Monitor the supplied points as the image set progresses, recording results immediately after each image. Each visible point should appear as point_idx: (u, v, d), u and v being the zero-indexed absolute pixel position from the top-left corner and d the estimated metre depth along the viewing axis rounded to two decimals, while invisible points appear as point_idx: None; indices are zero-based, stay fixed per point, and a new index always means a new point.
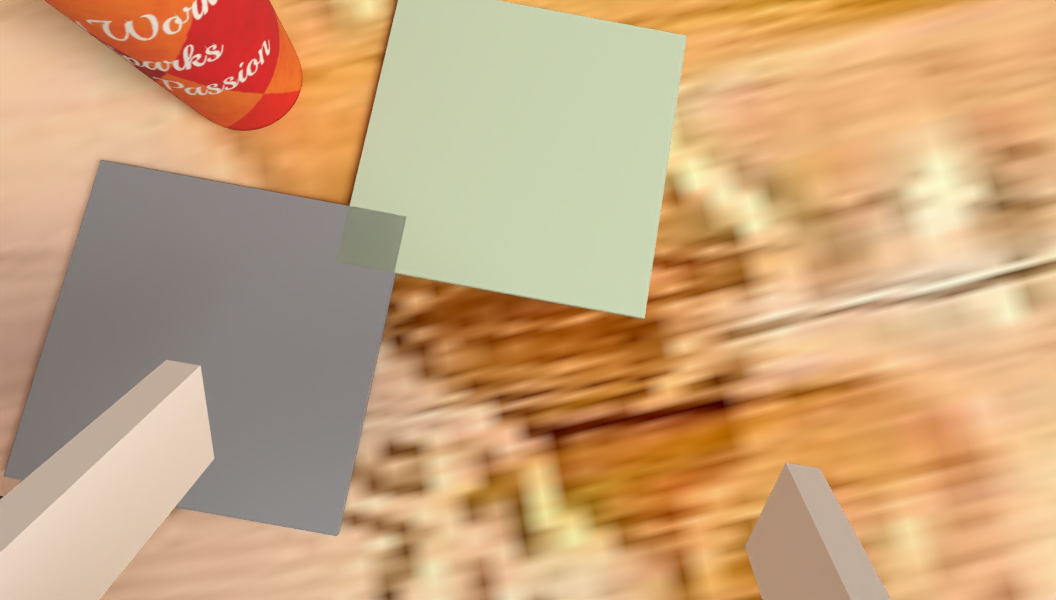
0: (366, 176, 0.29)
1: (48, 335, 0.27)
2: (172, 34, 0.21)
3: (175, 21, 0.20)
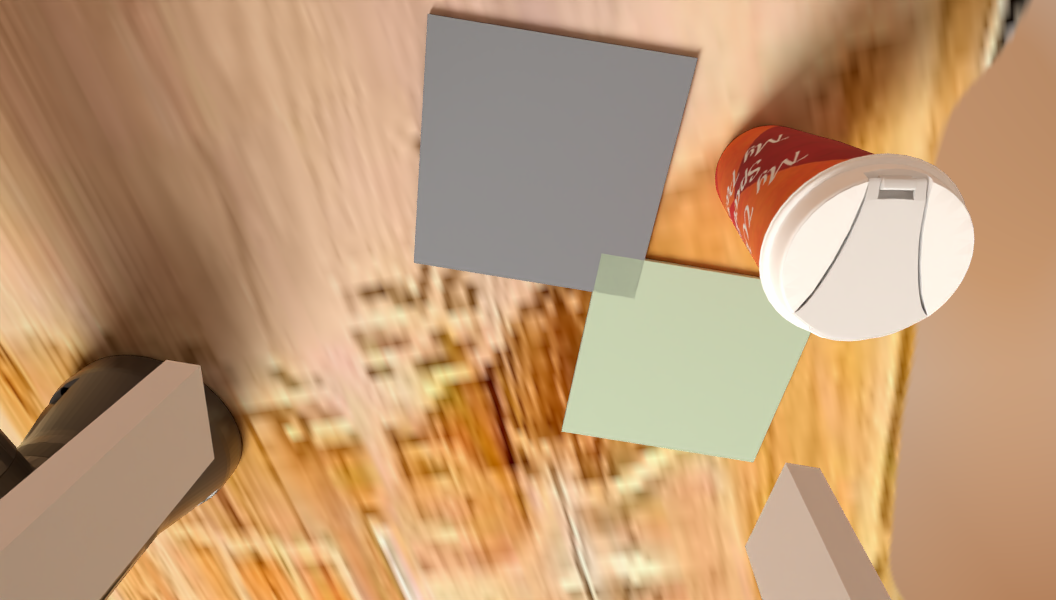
0: (667, 270, 0.39)
1: (542, 34, 0.33)
2: (745, 243, 0.29)
3: None
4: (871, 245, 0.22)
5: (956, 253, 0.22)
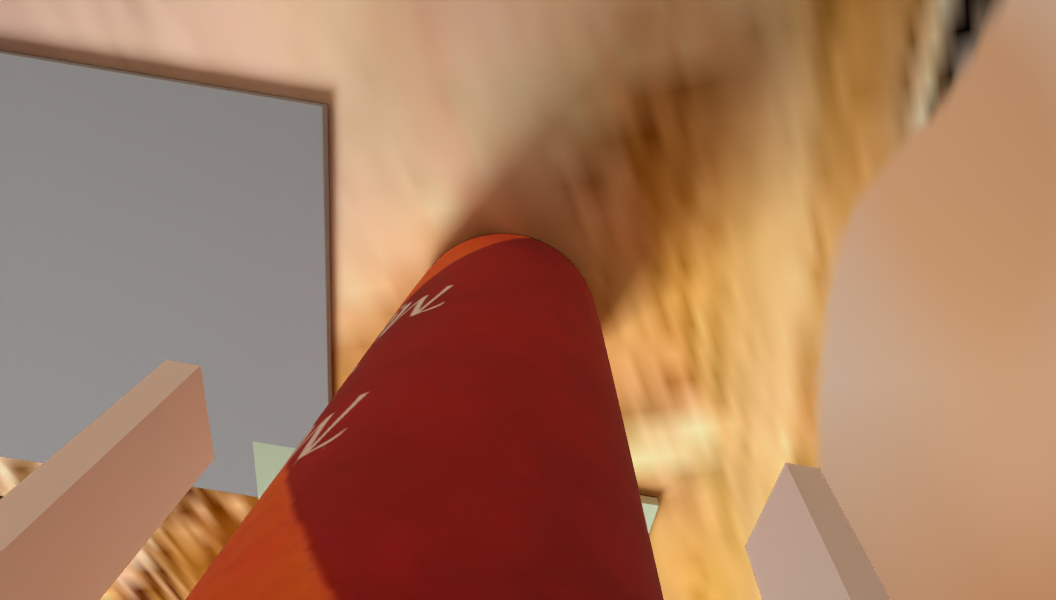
0: None
1: None
2: None
3: None
4: None
5: None
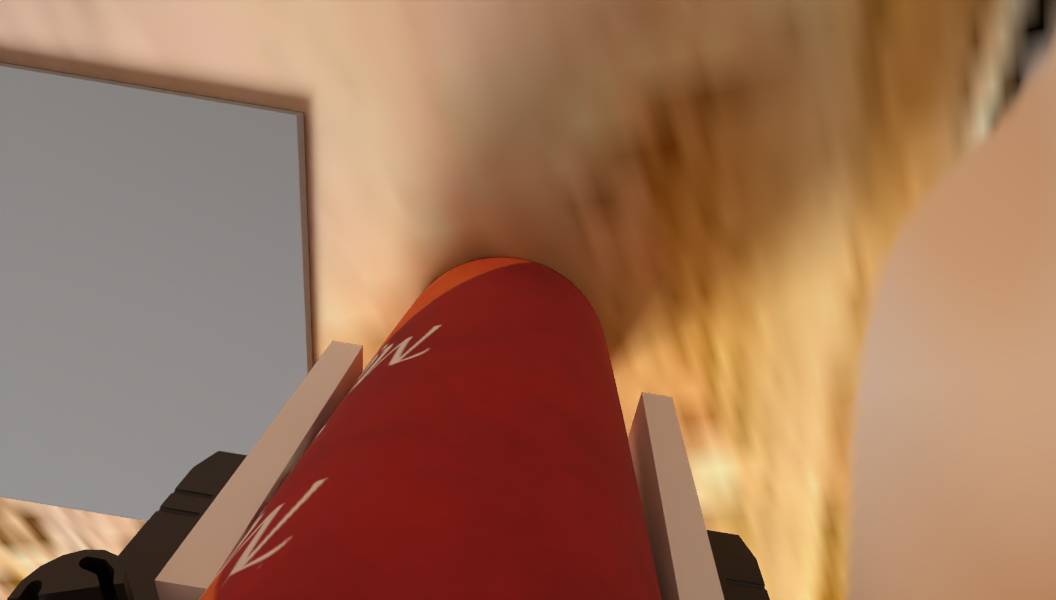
0: None
1: None
2: None
3: None
4: None
5: None
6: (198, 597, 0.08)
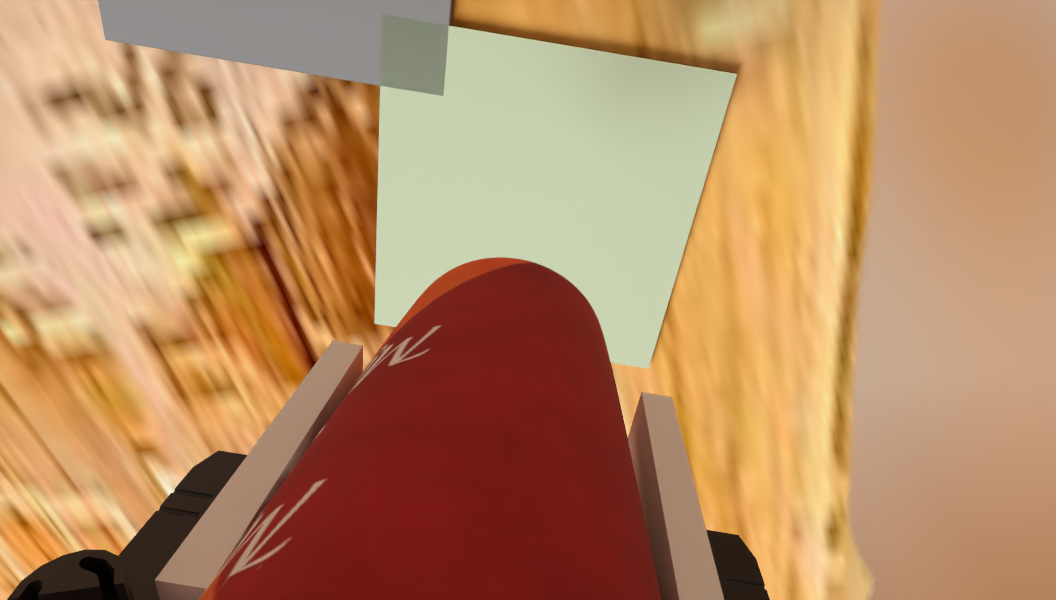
0: (485, 43, 0.25)
1: None
2: None
3: None
4: None
5: None
6: (198, 597, 0.08)
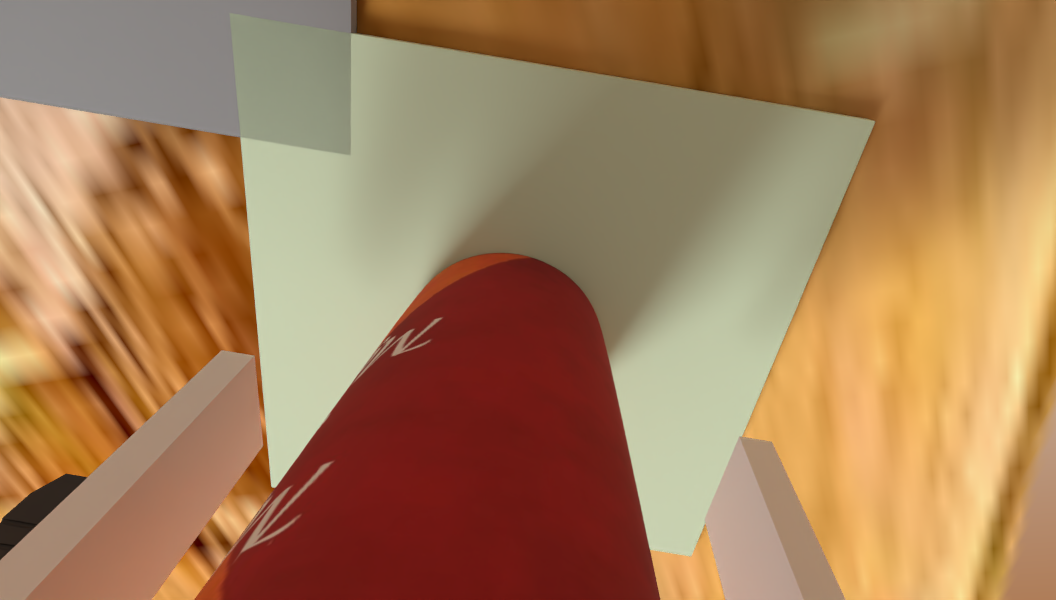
0: (419, 66, 0.14)
1: None
2: None
3: None
4: None
5: None
6: None
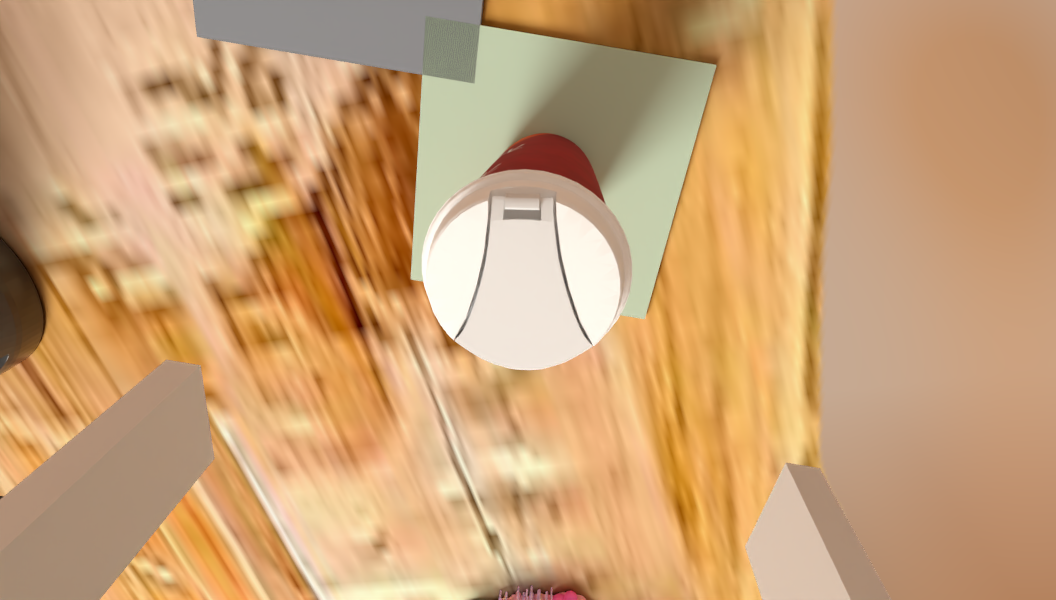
0: (510, 40, 0.30)
1: None
2: None
3: None
4: (511, 269, 0.20)
5: (603, 278, 0.20)
6: None
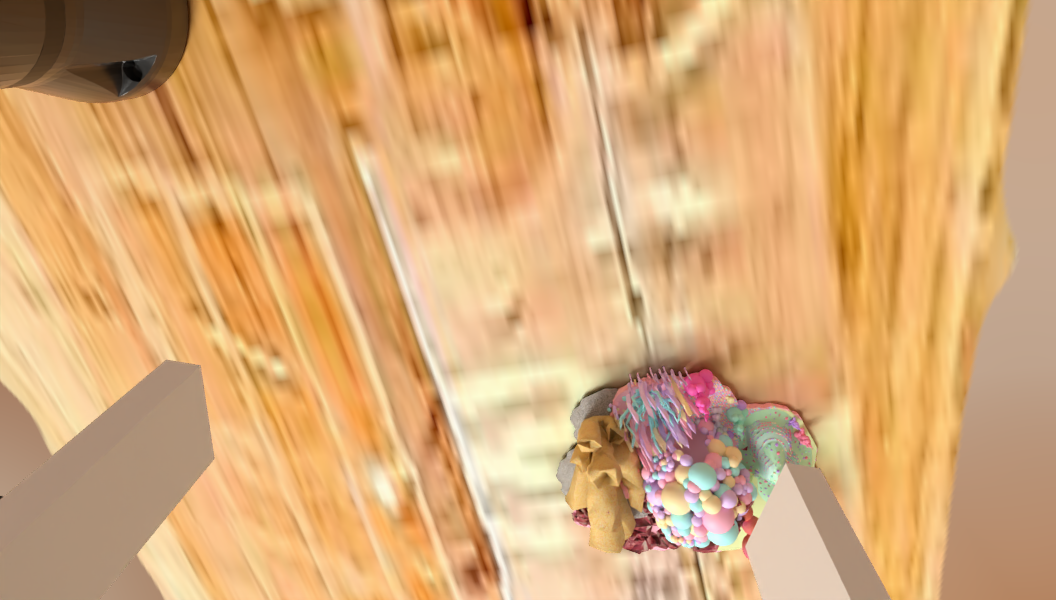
0: None
1: None
2: None
3: None
4: None
5: None
6: None
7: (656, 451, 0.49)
